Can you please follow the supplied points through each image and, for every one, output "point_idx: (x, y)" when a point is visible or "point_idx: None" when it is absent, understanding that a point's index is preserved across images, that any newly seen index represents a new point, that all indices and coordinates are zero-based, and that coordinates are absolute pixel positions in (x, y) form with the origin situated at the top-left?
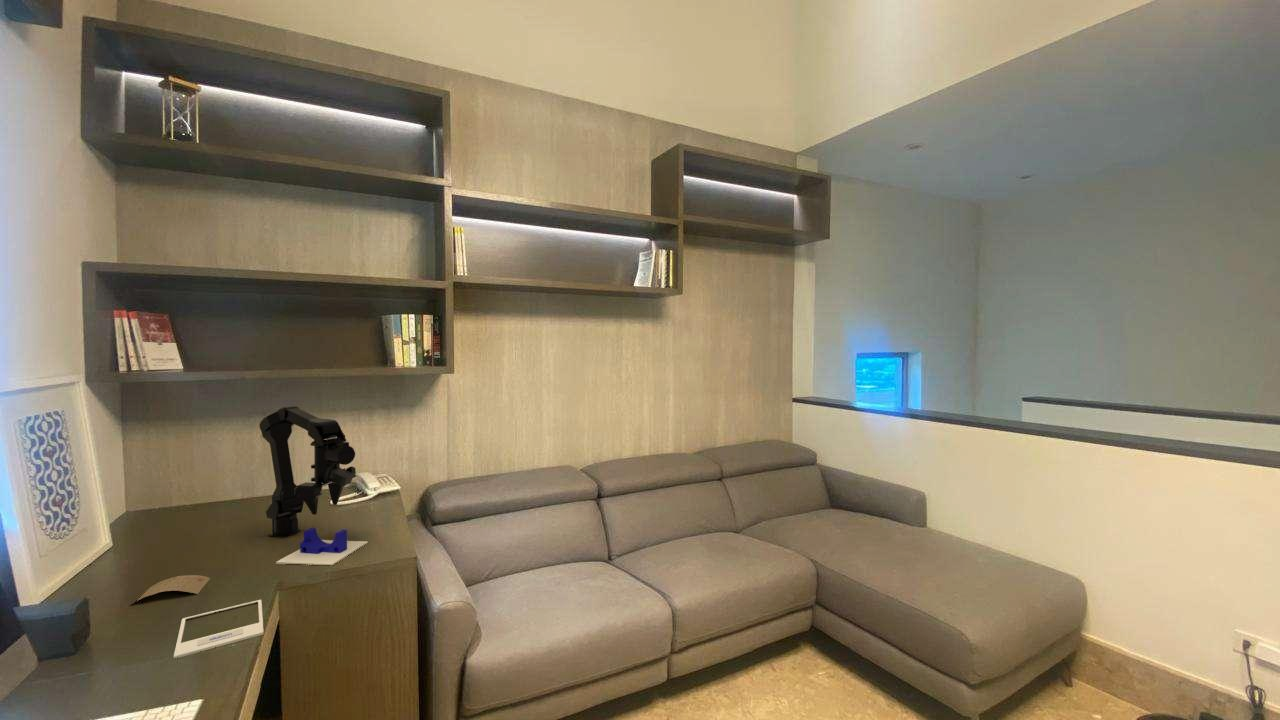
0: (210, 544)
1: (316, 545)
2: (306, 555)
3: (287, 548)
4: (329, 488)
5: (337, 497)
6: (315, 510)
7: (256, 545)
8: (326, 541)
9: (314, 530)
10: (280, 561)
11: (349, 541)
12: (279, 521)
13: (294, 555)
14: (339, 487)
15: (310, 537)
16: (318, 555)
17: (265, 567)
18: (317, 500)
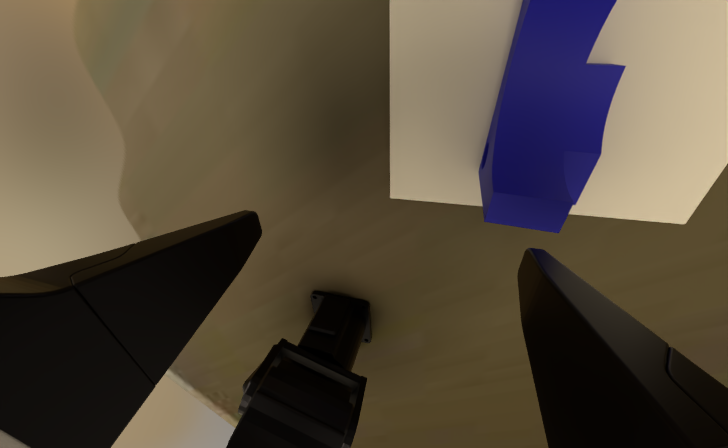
0: (431, 410)
1: (569, 110)
2: (618, 123)
3: (466, 259)
4: (146, 388)
5: (196, 240)
6: (581, 278)
7: (436, 341)
8: (407, 145)
9: (507, 188)
10: (684, 207)
11: (399, 3)
12: (352, 361)
13: (598, 186)
14: (35, 318)
15: (557, 172)
16: (647, 40)
17: (714, 240)
18: (686, 416)
